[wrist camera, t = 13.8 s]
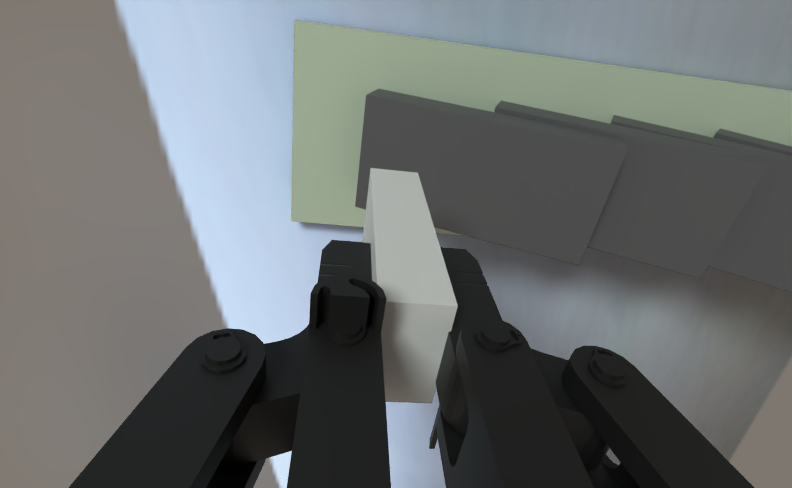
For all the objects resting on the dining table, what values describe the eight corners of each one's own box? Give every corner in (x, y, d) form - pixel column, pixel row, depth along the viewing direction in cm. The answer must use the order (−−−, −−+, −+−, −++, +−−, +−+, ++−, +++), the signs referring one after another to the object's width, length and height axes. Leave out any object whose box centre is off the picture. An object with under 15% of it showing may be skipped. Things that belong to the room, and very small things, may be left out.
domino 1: (366, 94, 17) (627, 149, 16) (378, 88, 19) (620, 138, 17) (355, 206, 20) (579, 265, 18) (366, 194, 21) (576, 247, 19)
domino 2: (495, 106, 18) (768, 165, 16) (500, 100, 19) (752, 154, 17) (468, 213, 21) (699, 278, 18) (475, 201, 22) (691, 260, 20)
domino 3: (611, 121, 19) (906, 190, 15) (613, 114, 20) (887, 177, 17) (572, 222, 21) (817, 300, 18) (576, 211, 23) (807, 282, 19)
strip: (296, 19, 18) (294, 20, 17) (860, 100, 21) (872, 103, 21) (292, 215, 22) (291, 221, 22) (757, 255, 26) (765, 261, 25)
